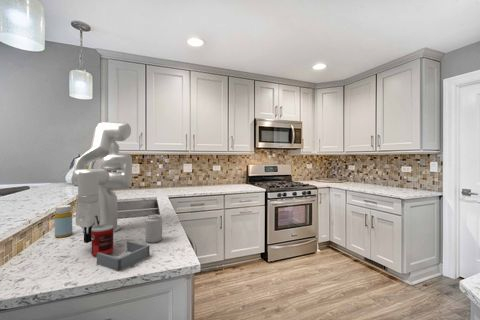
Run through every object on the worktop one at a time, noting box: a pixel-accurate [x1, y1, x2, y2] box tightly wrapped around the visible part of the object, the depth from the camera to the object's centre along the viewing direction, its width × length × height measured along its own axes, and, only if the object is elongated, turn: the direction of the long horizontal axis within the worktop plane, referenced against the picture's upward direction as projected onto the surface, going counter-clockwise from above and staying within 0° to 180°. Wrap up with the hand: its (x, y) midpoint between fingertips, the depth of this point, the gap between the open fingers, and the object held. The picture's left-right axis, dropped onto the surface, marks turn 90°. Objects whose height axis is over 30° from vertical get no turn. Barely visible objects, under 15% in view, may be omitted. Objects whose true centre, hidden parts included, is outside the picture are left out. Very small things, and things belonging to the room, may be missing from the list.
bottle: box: [54, 204, 73, 239], centre depth 116 cm, size 7×7×15 cm
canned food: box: [91, 225, 114, 258], centre depth 95 cm, size 8×8×11 cm
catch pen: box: [96, 240, 151, 272], centre depth 90 cm, size 12×14×4 cm
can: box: [144, 213, 163, 244], centre depth 110 cm, size 8×8×12 cm
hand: (88, 241), depth 99 cm, fingers closed
